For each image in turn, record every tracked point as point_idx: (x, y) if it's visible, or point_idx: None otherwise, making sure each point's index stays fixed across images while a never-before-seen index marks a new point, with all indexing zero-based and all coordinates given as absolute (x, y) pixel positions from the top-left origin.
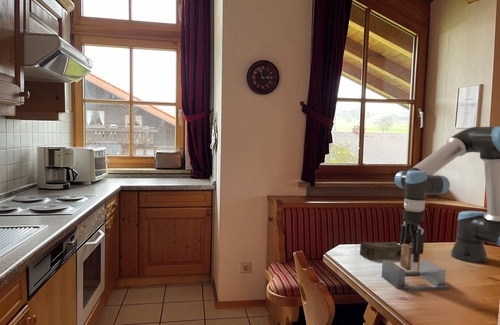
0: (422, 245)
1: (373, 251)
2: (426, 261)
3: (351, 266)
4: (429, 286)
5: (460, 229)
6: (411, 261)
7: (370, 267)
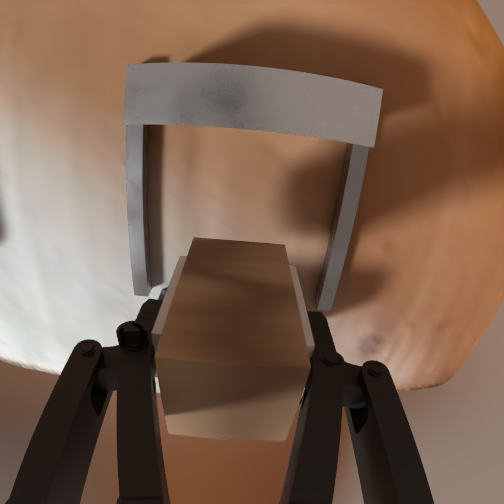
0: (405, 434)
1: None
2: (172, 101)
3: (67, 354)
4: (351, 201)
5: None
6: None
7: (61, 298)
